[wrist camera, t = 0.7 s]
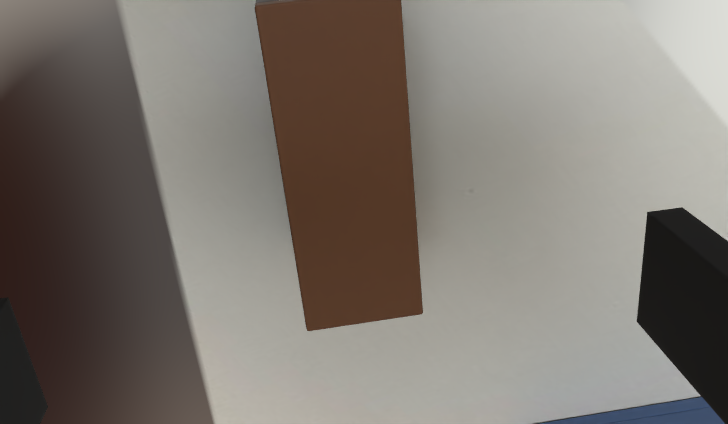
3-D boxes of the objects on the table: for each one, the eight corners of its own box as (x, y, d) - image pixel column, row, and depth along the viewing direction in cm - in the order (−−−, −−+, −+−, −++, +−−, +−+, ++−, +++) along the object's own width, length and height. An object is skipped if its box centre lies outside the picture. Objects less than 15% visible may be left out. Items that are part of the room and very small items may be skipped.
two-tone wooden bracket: (300, 243, 29) (307, 332, 23) (259, -22, 25) (254, 6, 19) (393, 230, 30) (423, 314, 24) (370, -35, 25) (400, -12, 19)
